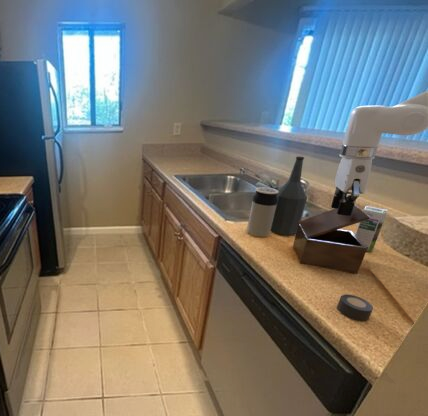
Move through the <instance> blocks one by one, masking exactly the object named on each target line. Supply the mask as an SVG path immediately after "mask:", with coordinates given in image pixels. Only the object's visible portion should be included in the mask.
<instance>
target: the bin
mask: <svg viewBox="0 0 428 416" xmlns="http://www.w3.org/2000/svg"><path fill="white" fill-rule="evenodd" d="M292 247H293V250H294V253H295V255H296V257H297V260H298V263H299V264H300V265H305V266H306V265H307V266H311V267H316V268H322V269H328V270H333V271H337V272H345V273H350V274H356V275H358V274H359V272H360V268H361V266H362V264H363V260H364V258H365V255H366V253H367V251H366V250H367V248H366V246H365V245H364V244H363V243H362V242H361V241H360V240H359V239H358V238H357V237H356V235H355V233H354V232H353V231H352V230H347V229H341V228H340V229H337V230H334V231H331V232H328V233H325V234H322V235H319V236H316V237H313V238H310V239H308V238H307V236H306V235H305V233H304V231H303V229H302V227H301V225H300V224H299V225H298V228H297V232H296V234H295V235H294V239H293V244H292Z"/></svg>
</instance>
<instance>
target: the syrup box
mask: <svg viewBox="0 0 428 416" xmlns="http://www.w3.org/2000/svg"><path fill="white" fill-rule="evenodd" d="M362 211H363V212H364V213H365V214H366V215H367V216H369V218H370V219H368V220H365V221H362V222H359V223H357V224H358V225H357V228H356V230H355V233H354V234H355V235H356V237H357V238H358V239H359V240H360V241H361V242H362V243H363V244H364V245H365V246H366V248H367V250H366V252H369V253H373V251H374V248H375V245H376V242H377V241H378V238H379V235H380V232H381V230H382V227H383V225H384V223H385V220H386V217H387V214H388V211H389V209H386V208H385V209H384V208H379V207H373V206H370V205H369V206H368V205H365V207H364V209H363V210H362Z"/></svg>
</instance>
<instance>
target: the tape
mask: <svg viewBox="0 0 428 416" xmlns="http://www.w3.org/2000/svg"><path fill="white" fill-rule="evenodd" d="M336 308H337V311H339V312H340V313H341V314H342V315H344V316H345V317H346V318H349V319H352V320H355V321H358V322H366V321H369V320H370V318H371V315H372V313H373V311H374V306H373V305H372V304H371V302H369V301H367V300H366V299H365V298H362V297H360V296H357V295H353V294H342V295H340V297H339V300H338V303H337V305H336Z"/></svg>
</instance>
